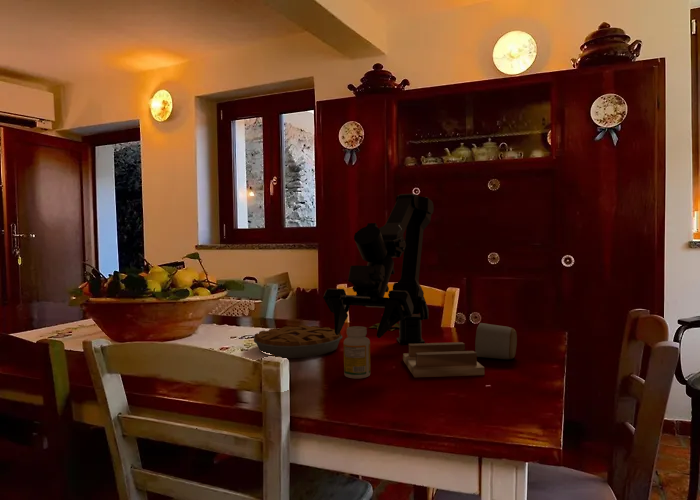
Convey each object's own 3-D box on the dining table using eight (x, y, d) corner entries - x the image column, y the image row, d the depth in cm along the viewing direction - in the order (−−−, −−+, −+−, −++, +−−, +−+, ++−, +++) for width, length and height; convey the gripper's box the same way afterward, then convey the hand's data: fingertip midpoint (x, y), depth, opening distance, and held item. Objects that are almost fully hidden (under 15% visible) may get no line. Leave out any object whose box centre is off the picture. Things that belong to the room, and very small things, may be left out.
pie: (286, 365, 112) (286, 342, 112) (237, 349, 129) (237, 330, 129) (360, 349, 127) (359, 329, 127) (307, 337, 143) (307, 319, 143)
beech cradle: (403, 360, 114) (402, 342, 114) (464, 358, 115) (464, 340, 115) (414, 377, 100) (414, 357, 100) (484, 375, 101) (484, 354, 101)
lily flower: (415, 327, 156) (415, 312, 156) (393, 334, 147) (393, 318, 147) (382, 324, 163) (382, 309, 163) (360, 330, 154) (360, 314, 154)
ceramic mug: (513, 363, 109) (512, 327, 109) (474, 360, 113) (474, 325, 113) (519, 353, 119) (519, 320, 119) (484, 350, 123) (483, 318, 122)
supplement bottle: (359, 380, 99) (358, 331, 98) (338, 376, 102) (337, 328, 102) (376, 374, 103) (375, 327, 103) (355, 370, 106) (354, 324, 106)
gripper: (326, 251, 111) (301, 308, 101) (408, 251, 103) (390, 313, 93) (342, 284, 118) (320, 340, 108) (420, 286, 110) (404, 347, 100)
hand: (356, 335), depth 102 cm, fingers open, 9 cm apart
